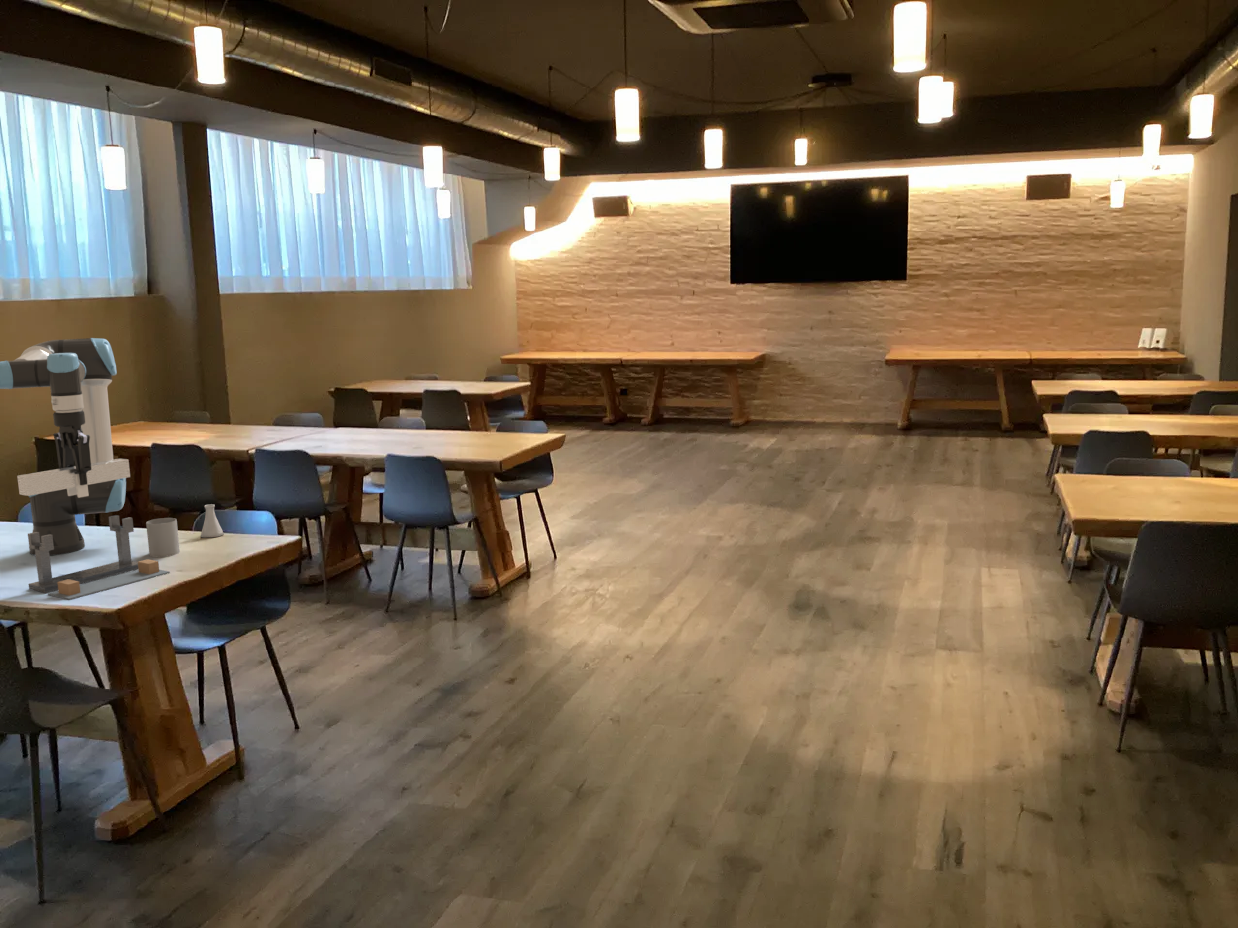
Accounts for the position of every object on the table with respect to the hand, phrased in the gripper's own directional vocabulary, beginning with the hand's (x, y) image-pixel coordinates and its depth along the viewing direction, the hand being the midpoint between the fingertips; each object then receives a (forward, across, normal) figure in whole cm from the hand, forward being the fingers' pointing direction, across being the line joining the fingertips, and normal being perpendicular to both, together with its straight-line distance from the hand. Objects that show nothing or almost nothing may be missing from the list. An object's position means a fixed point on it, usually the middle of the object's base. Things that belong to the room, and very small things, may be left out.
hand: (78, 495), depth 290 cm
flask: (+24, -13, +50) cm, 57 cm away
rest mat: (+23, +11, 0) cm, 26 cm away
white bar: (-3, 0, 0) cm, 3 cm away
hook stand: (+23, 0, 0) cm, 23 cm away
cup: (+24, -6, +28) cm, 37 cm away
